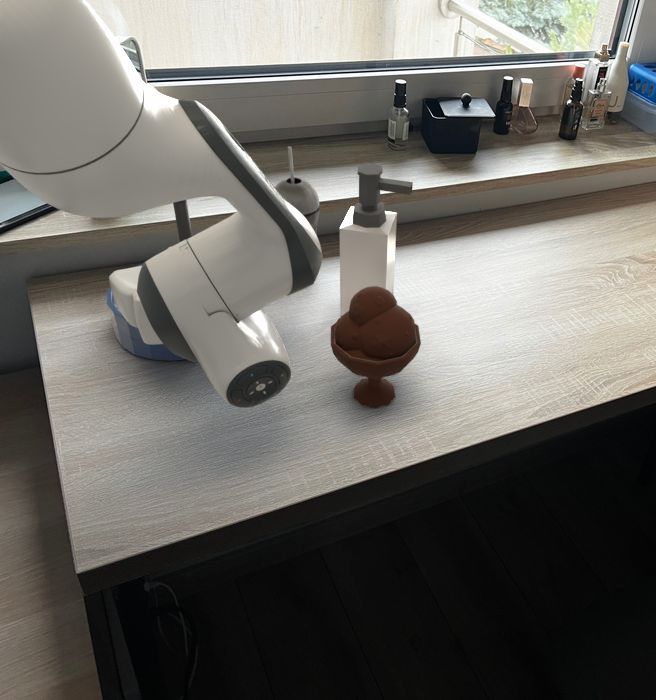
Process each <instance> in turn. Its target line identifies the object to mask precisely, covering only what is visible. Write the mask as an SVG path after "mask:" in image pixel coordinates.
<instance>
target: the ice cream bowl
mask: <svg viewBox="0 0 656 700" xmlns="http://www.w3.org/2000/svg"><path fill="white" fill-rule="evenodd" d="M421 341H422V340H421V334H420V329H419V325H417V324H416V323H415V319H414V317H413V316H412V314H411V313H410V312H408V311H407V310H406V309H404V308H403V307H402V306H400V305H399V304H398V303H397V299H396V296H395V295H394V293H393V294H392V293H391V292H390V291H389V290H386V289H384V288H382V287H379V286H370V287H366V288H363V289H362V290H360V291H359V292H357V293H356V294H355V295H354V296H353V298H352V299H351V302H350V307H349V311H348V312H346V313H345V314H344V315H343V316H340V317H339V318H338V319H337V321H335V323H333V324H332V325H331V326H330V347H331V351H332V354H333V356H334V357H335V359H336V360H337V361H338V362H339V363H340V364H341V365H343V366H344V367H345V368H346V369H347V370H349V371H350V373H352V374H354V375H356V376H358V377H363V378H361V379H360V380H359V381H358V382H357V383H356V384H355V385H354V386H353V388H352V396H353V397H352V398H353V399H354V401H356V402H357V403H358V404H359V405H360V406H362V407H366V408H372V409H377V408H378V409H379V408H381V407H386V406H389V404H391V402H393V400H394V399H396V389H395V385H394V384H393V383H392V382H390V381H389V380H388V379H387V378H388V377H390V376H391V377H392V376H396V375H397V374H400V373H401V372H402V371H403V370H404V369H405V368H406V367H407V366H408V365H409V364H410V363H411V362H412V361H413V360H414V359H415V358H416V357H417V355H418V354H419V350H420V348H421V346H422V345H421V344H422V342H421Z"/></svg>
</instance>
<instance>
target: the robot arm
mask: <svg viewBox="0 0 656 700" xmlns="http://www.w3.org/2000/svg"><path fill="white" fill-rule="evenodd" d="M0 166H1V167H2V168H3V169H4V170H5V171H6V172H7V173H8V174H9V175H10V176H11V177H12V178H13V179H14V180H16V181H17V183H19V184H20V185H21V186H22V187H23V188H25V189H26V190H27V191H28V192H30V193H31V194H32V195H34V196H35V197H36V198H38V200H39V199H40V200H41V201H42V202H44V203H46V204H47V205H49V206H51V207H53V208H55V209H58V210H59V211H62V212H65V213H69V214H70V215H75V216H79V217H85V218H96V219H109V218H110V219H111V218H113V219H114V218H121V217H126V216H132V215H135V214H140V213H143V212H146V211H149V210H153V209H157V208H160V207H162V206H166V205H171V204H173V203H174V202H178V201H183V200H192V199H198V198H206V197H208V198H209V197H217V198H222V199H225V200H226V201H227V202H228V203H229V204H230V206H232V207H233V208H234V209H235V210H236V212H235V213H232V215H230V216H229V217H227V218H224V219H223V220H221V221H218V222H217V223H215V224H213V225H212V226H209V227H208V228H205V229H204V230H202V231H200V232H198V233H196V234H195V235H192V237H190V238H189V239H187V240H186V239H185V240H184V241H182V242H180V241H179V242H178V243H176V244H174V245H171V246H168V248H167V249H164V250H163V251H161V252H159V253H157V254H156V255H153V256H152V257H151V258H148V259H147V260H146V261H143V263H142V264H143V265H142V266H139V265H137V266H138V267H136V266H133V267H128V268H123V269H117V270H114V271H113V272H112V273H111V274H110V275H108V281H109V287H110V286H111V290H112V294H113V297H114V300H115V302H116V305H117V307H118V308H119V310H120V312H121V313H122V315H123V316H124V318H125V319H126V321H127V322H128V323H129V324H130V325H132V326H134V327H136V328H138V329H139V332H140V335H141V337H142V339H143V341H144V342H145V343H146V344H164V345H165V346H166V347H167V348H168V349H169V350H170V351H171V352H172V353H174V354H175V355H178V356H180V357H182V358H184V359H183V360H187V361H190V362H193V363H199V365H200V366H201V368H202V370H203V372H204V374H205V375H206V377H207V378H208V380H209V381H210V383H211V385H212V386H213V387H214V389H215V390H216V391H217V393H218V394H219V396H221V398H222V399H223V400H224V401H225V402H226V403H227V404H229V405H230V406H232V407H235V408H240V409H242V408H243V409H245V408H246V409H247V408H253V407H257V406H259V405H263V404H264V403H266V402H267V401H269V400H271V399H272V398H274V397H276V396H277V395H279V394H280V393H281V392H282V391H283V390H284V389H286V387H287V386H288V384H289V383H290V381H291V377H292V374H293V373H292V372H293V371H292V364H291V361H290V357H289V355H288V352H287V349H286V347H285V344H284V342H283V340H282V337H281V335H280V334H279V332H278V330H277V328H276V327H275V325H274V323H273V321H272V320H271V319H270V317H269V316H268V315H267V314H266V313H265V312H264V310H263V309H264V308H266V307H268V306H270V305H272V304H273V303H275V302H278V301H279V300H281V299H283V298H284V297H288V296H290V295H292V294H295V293H297V292H299V291H302V290H304V289H306V288H308V287H310V286H312V285H314V283H315V281H316V279H317V278H318V275H319V272H320V269H321V266H322V262H323V258H324V255H323V253H322V252H323V251H322V246H321V242H320V240H319V238H318V235H317V233H315V231H314V230H313V228H312V227H311V225H310V224H309V222H308V221H307V219H306V218H305V217H304V216H303V215H302V214H301V213H300V212H299V211H298V210H297V209H296V208H295V207H293V206H292V205H291V204H289V203H288V202H287V201H286V200H285V199H284V197H283V196H282V195H281V194H280V193H279V192H278V191H277V190H276V188H275V186H274V185H273V183H272V182H271V181H270V180H269V178H268V177H267V176H266V174H265V173H264V172H263V171H262V170H261V168H260V167H259V166H258V165H257V163H256V162H255V161H254V160H253V158H252V157H251V156H250V154H249V153H248V152H247V151H246V149H245V148H244V147H243V146H242V145H241V143H240V142H239V141H238V140H237V139H236V137H235V136H234V135H233V134H232V133H231V132H230V131H229V129H228V128H227V126H226V125H224V124H223V123H222V121H221V120H220V119H219V118H218V117H217V116H216V115H215V114H214V113H213V112H212V111H211V110H210V109H208V108H207V107H206V106H205V105H203V104H202V103H200V102H199V101H198V100H195V99H183V98H178V99H177V98H174V97H171V96H169V95H165V94H163V93H161V92H160V91H158V90H156V89H154V88H152V87H150V86H149V85H148V84H147V83H146V82H145V81H144V80H143V79H142V77H141V76H140V74H139V72H138V71H137V70H136V67H135V66H134V64H133V63H132V61H131V59H130V58H129V56H128V55H127V53H126V52H125V50H124V49H123V47H122V45H121V44H120V43H119V42H118V40H117V38H116V37H115V35H114V34H113V33H112V31H111V30H110V28H109V27H108V26H107V25H106V24H105V22H104V21H103V19H102V18H101V17H100V16H99V14H98V13H97V12H96V11H95V9H94V8H93V7H92V6H91V5H90V3H89V2H88V1H87V0H0Z"/></svg>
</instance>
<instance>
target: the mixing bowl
mask: <svg viewBox="0 0 656 700" xmlns="http://www.w3.org/2000/svg"><path fill="white" fill-rule="evenodd" d="M142 265H143V263H140V264H138V265H136V266H135V267H138V266H142ZM106 304H107V309H108V313H109V316H110V320H111V321H110V322H111V325H112V328H113V332H114V336H115V338H116V340H117V341H118V342H119V344H120V346H121V347H122V348H123V349H125V350H126V351H128V352H129V353H131V354H133V355H135V356H137V357H141V358H146V359H150V360H154V361H171V362H172V361H180V360H185V359H184V358H182V357H180V356H178V355H175V354H174V353H172V352H171V351H170V350H169V349H168V348H167V347H166V346H165V345H164V344H146V343H145V342H144V341H143V339H142V337H141V335H140V332H139V329H138V328H136V327H134V326H132V325H130V324H129V323H128V322H127V321H126V319H125V318H124V316H123V315H122V313H121V312H120V310H119V308H118V307H117V305H116V302H115V300H114V297H113V294H112V290H111V286H110V285H109V288H108V289H107V291H106Z"/></svg>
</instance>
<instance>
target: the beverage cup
mask: <svg viewBox="0 0 656 700" xmlns="http://www.w3.org/2000/svg"><path fill="white" fill-rule="evenodd" d="M287 154H288V164H289V175H290V176H289V177H287V178H286V177H285V178H283V179H282V180H280V181H279V182H278V183H277V184H275V186H274V187H275V188H276V190H277V191H278V192H279V193H280V194H281V195H282V196H283V197H284V199H285V200H286V201H287V202H288V203H289V204H291V205H292V206H293V207H295V208H296V209H297V210H298V211H299V212H300V213H301V214H302V215H303V216H304V217H305V218H306V219H307V221H308V222H309V224H310V225H311V227H312V228H313V230H314V231H315V233H316V234H317V232H318V220H319V215H320V210H321V207H322V206H321V203H320V198H319V195H318V192H317V190H316V189H315V188H314V186H313V185H312V183H310V182H308V180H306V179H303V178H301V177H295V171H294V170H295V169H294V161H293V148H292V146H287Z"/></svg>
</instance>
